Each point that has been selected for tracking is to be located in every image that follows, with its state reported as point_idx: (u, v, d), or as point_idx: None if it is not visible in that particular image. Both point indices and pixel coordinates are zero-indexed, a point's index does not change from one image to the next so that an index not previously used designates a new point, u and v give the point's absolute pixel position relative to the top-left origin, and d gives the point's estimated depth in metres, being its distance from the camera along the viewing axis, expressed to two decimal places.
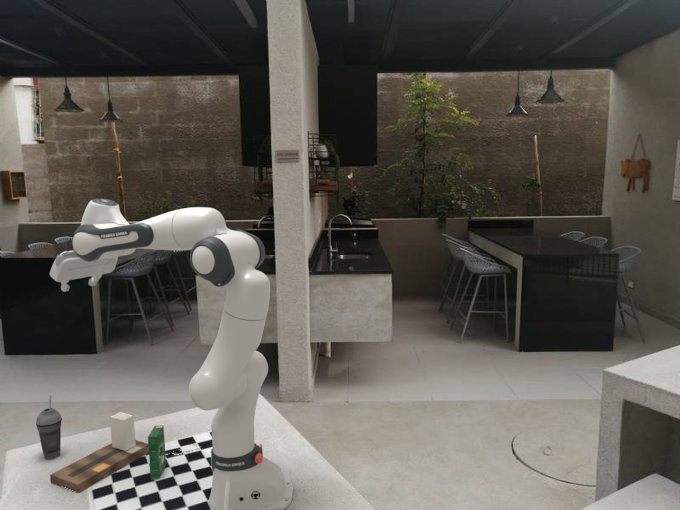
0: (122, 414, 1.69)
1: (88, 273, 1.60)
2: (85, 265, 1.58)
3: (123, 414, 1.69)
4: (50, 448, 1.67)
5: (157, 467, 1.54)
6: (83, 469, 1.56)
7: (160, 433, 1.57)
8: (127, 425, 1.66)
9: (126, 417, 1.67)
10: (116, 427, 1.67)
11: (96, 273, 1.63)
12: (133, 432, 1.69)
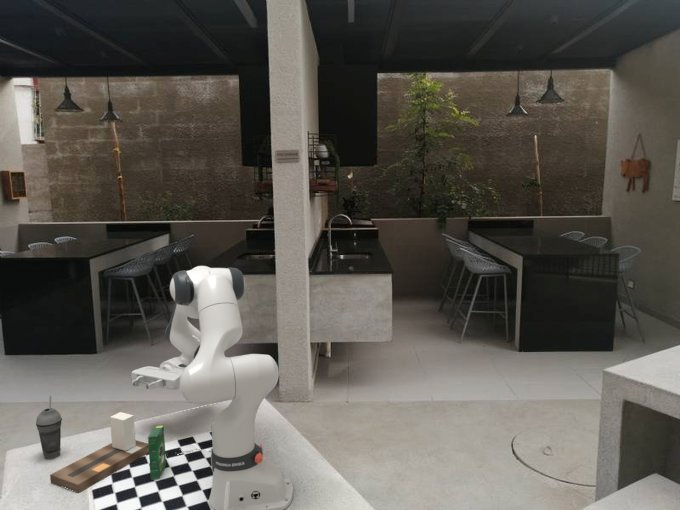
0: (122, 414, 1.69)
1: (155, 374, 1.79)
2: (158, 371, 1.83)
3: (123, 414, 1.69)
4: (50, 448, 1.67)
5: (157, 467, 1.54)
6: (83, 469, 1.56)
7: (160, 433, 1.57)
8: (127, 425, 1.66)
9: (126, 417, 1.67)
10: (116, 427, 1.67)
11: (160, 376, 1.77)
12: (133, 432, 1.69)
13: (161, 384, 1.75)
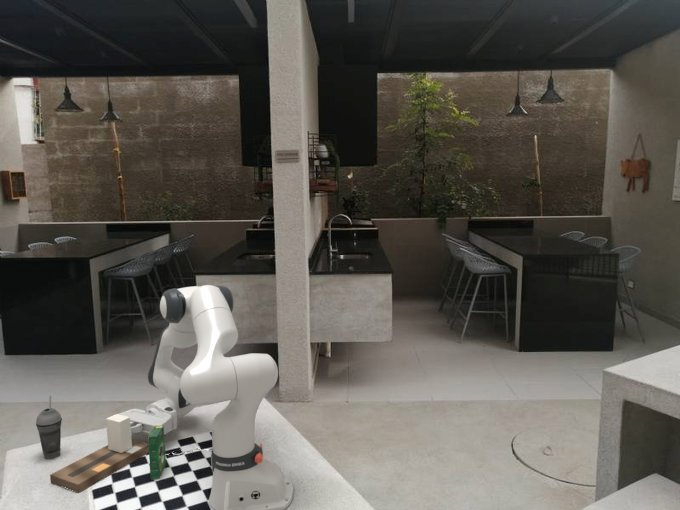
0: (118, 416, 1.67)
1: (140, 419, 1.74)
2: (143, 415, 1.77)
3: (119, 416, 1.68)
4: (50, 448, 1.67)
5: (157, 467, 1.54)
6: (83, 469, 1.56)
7: (160, 433, 1.57)
8: (124, 427, 1.65)
9: (122, 419, 1.66)
10: (113, 429, 1.65)
11: (145, 421, 1.72)
12: (129, 434, 1.67)
13: (140, 428, 1.72)
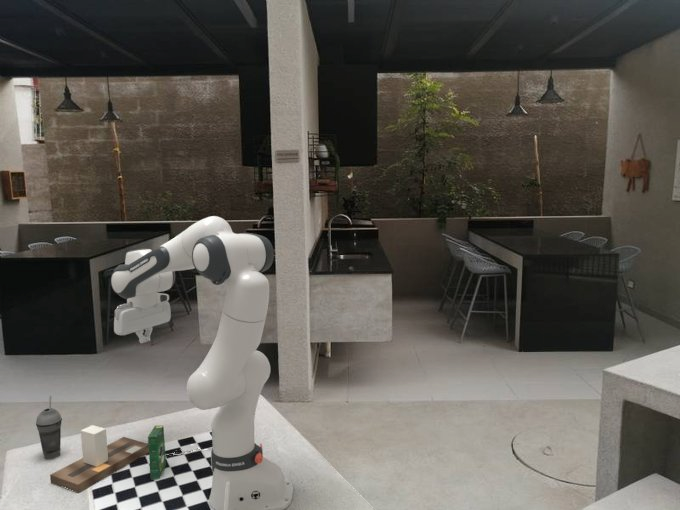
0: (94, 428, 1.60)
1: (148, 323, 1.69)
2: (142, 315, 1.67)
3: (95, 427, 1.60)
4: (50, 448, 1.67)
5: (157, 467, 1.54)
6: (83, 469, 1.56)
7: (160, 433, 1.57)
8: (99, 439, 1.57)
9: (97, 431, 1.58)
10: (87, 442, 1.57)
11: (155, 323, 1.72)
12: (105, 446, 1.59)
13: None
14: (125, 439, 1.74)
